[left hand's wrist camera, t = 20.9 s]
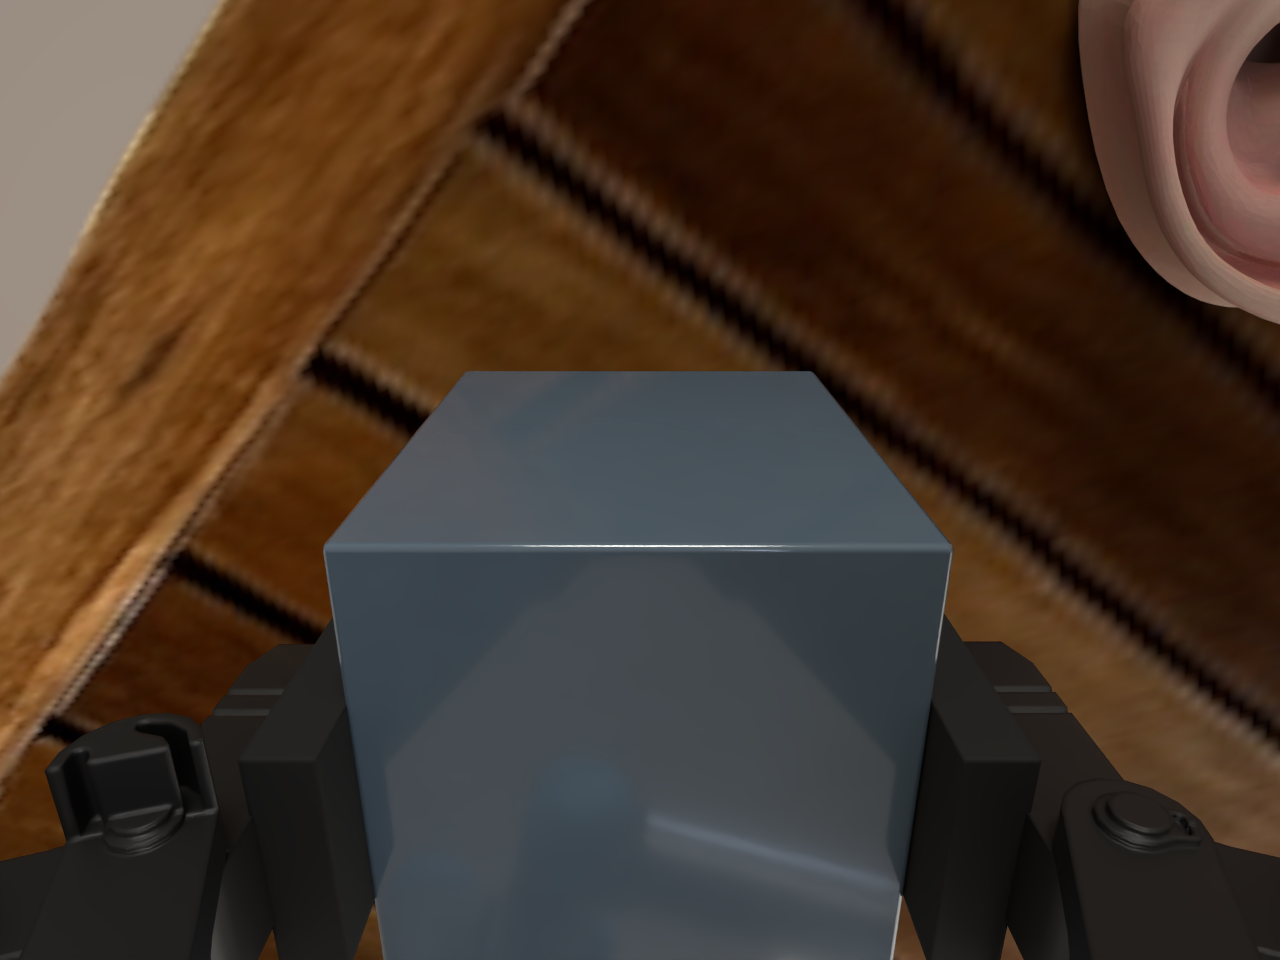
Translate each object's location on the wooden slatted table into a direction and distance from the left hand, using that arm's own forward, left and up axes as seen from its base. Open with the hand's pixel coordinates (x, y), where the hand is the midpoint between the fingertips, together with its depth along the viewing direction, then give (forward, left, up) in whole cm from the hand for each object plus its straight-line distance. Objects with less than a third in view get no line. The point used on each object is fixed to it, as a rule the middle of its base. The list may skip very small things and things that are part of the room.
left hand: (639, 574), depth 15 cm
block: (0, 0, -2) cm, 2 cm away
